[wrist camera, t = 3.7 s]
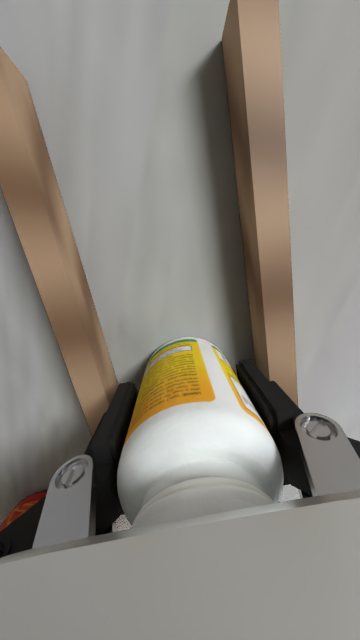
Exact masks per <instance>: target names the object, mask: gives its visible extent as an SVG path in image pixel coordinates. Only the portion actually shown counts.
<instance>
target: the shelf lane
mask: <svg viewBox="0 0 360 640" xmlns="http://www.w3.org/2000/svg"><path fill="white" fill-rule="evenodd" d="M222 46H223V56H224V66H225V75H226V85H227V95H228V104H229V114H230V124H231V133H232V143H233V153H234V162H235V172H236V182H237V191H238V201H239V211H240V220H241V230H242V240H243V249H244V259H245V269H246V278H247V288H248V297H249V307H250V317H251V326H252V336H253V346H254V355H255V365H256V367H257V368H258V369H259V370H260V371H261V372H262V374H263V375H264V376H265V377H266V378H267V379H268V381H275V382H276V383H277V384H278V385H279V386H280V388H281V389H282V390H283V391H284V392H285V393H286V394H287V395H288V396H289V397H290V399H291V400H292V401H293V402H294V403H295V404H296V405H297V406H298V394H297V373H296V351H295V330H294V309H293V288H292V267H291V245H290V224H289V203H288V182H287V160H286V139H285V118H284V97H283V76H282V54H281V33H280V12H279V0H230V2H229V7H228V12H227V16H226V21H225V26H224V30H223V35H222ZM0 187H1V189H2V192H3V195H4V197H5V200H6V203H7V206H8V208H9V211H10V214H11V217H12V219H13V222H14V225H15V227H16V230H17V233H18V236H19V238H20V241H21V244H22V247H23V249H24V252H25V255H26V257H27V260H28V263H29V266H30V268H31V271H32V274H33V277H34V279H35V282H36V285H37V287H38V290H39V293H40V296H41V298H42V301H43V304H44V307H45V309H46V312H47V315H48V317H49V320H50V323H51V326H52V328H53V331H54V334H55V337H56V339H57V342H58V345H59V347H60V350H61V353H62V356H63V358H64V361H65V364H66V367H67V369H68V372H69V375H70V378H71V380H72V383H73V386H74V388H75V391H76V394H77V397H78V399H79V402H80V405H81V408H82V410H83V413H84V416H85V418H86V421H87V424H88V427H89V429H90V432H91V435H92V437H93V435H94V433H95V431H96V428H97V426H98V424H99V422H100V420H101V418H102V416H103V414H104V413H105V412H107V409H108V407H109V405H110V403H111V401H112V399H113V396H114V394H115V392H116V390H117V388H118V382H117V379H116V376H115V372H114V369H113V366H112V362H111V359H110V356H109V352H108V349H107V346H106V342H105V339H104V336H103V333H102V329H101V326H100V323H99V319H98V316H97V313H96V309H95V306H94V303H93V299H92V296H91V293H90V290H89V286H88V283H87V280H86V276H85V273H84V270H83V266H82V263H81V260H80V256H79V253H78V250H77V247H76V243H75V240H74V237H73V233H72V230H71V227H70V223H69V220H68V217H67V213H66V210H65V207H64V204H63V200H62V197H61V194H60V190H59V187H58V184H57V180H56V177H55V174H54V170H53V167H52V164H51V160H50V157H49V154H48V151H47V147H46V144H45V141H44V137H43V134H42V131H41V127H40V124H39V121H38V117H37V114H36V111H35V108H34V104H33V101H32V98H31V94H30V91H29V88H28V84H27V81H26V79H25V78H24V76H23V75H22V74H21V73H20V71H19V70H18V69H17V67H16V66H15V65H14V64H13V62H12V61H11V60H10V58H9V57H8V56H7V55H6V53H5V52H4V51H3V49H2V48H1V47H0Z"/></svg>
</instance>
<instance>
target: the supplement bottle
mask: <svg viewBox="0 0 360 640" xmlns="http://www.w3.org/2000/svg"><path fill="white" fill-rule="evenodd" d="M283 482H284V475H283V466H282V461H281V457H280V454H279V451H278V449H277V446H276V444H275V442H274V440H273V438H272V437H271V435H270V433H269V431H268V429H267V428H266V426H265V424H264V422H263V421H262V419H261V417H260V416H259V414H258V412H257V410H256V409H255V407H254V405H253V403H252V402H251V400H250V398H249V397H248V395H247V393H246V392H245V390H244V388H243V386H242V385H241V383H240V381H239V379H238V378H237V376H236V374H235V372H234V371H233V369H232V367H231V366H230V364H229V362H228V361H227V359H226V358H225V356H224V355H223V353H222V352H221V351H220V350H219V349H218V348H217V347H216V346H215V345H213V344H212V343H210V342H208V341H206V340H203V339H200V338H194V337H184V338H179V339H175V340H172V341H170V342H168V343H165V344H164V345H162V346H161V347H160V348H158V349H157V350H156V351H155V352H154V353H153V355H152V356H151V358H150V359H149V361H148V363H147V366H146V369H145V372H144V376H143V379H142V382H141V386H140V390H139V393H138V397H137V400H136V404H135V408H134V411H133V415H132V418H131V422H130V425H129V429H128V432H127V436H126V439H125V442H124V446H123V449H122V453H121V457H120V461H119V465H118V471H117V489H118V496H119V500H120V503H121V506H122V509H123V511H124V514H125V516H126V517H127V519H128V521H129V522H130V524H131V525H132V526H131V528H130V529H134V528H139V527H145V526H150V525H156V524H161V523H167V522H172V521H178V520H183V519H189V518H194V517H200V516H205V515H211V514H216V513H222V512H228V511H233V510H239V509H244V508H250V507H256V506H262V505H268V504H273V503H279V502H280V500H281V496H282V491H283Z"/></svg>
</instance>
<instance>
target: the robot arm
mask: <svg viewBox="0 0 360 640" xmlns="http://www.w3.org/2000/svg"><path fill="white" fill-rule="evenodd" d="M236 369H237V376H238V379H239V381H240V383H241V385H242V386H243V388H244V390H245V392H246V393H247V395H248V397H249V398H250V400H251V402H252V403H253V405H254V407H255V409H256V410H257V412H258V414H259V416H260V417H261V419H262V421H263V422H264V424H265V426H266V428H267V429H268V431H269V433H270V435H271V437H272V438H273V440H274V442H275V444H276V446H277V449H278V451H279V454H280V457H281V461H282V466H283V475H284V482H283V485H288V484H291V485H292V486H294V487H296V488H298V489H299V494H300V498H301V499H296V500H291V501H285V502H279V503H273V504H268V505H262V506H256V507H250V508H244V509H239V510H233V511H228V512H222V513H216V514H211V515H205V516H200V517H194V518H189V519H183V520H178V521H172V522H167V523H161V524H156V525H150V526H145V527H139V528H134V529H129V530H123V531H118V532H116V522H115V521H116V520H117V518H118V517H119V516H120V515H122V514H124V511H123V509H122V506H121V503H120V500H119V496H118V489H117V471H118V465H119V461H120V457H121V453H122V449H123V446H124V442H125V439H126V436H127V432H128V429H129V425H130V422H131V418H132V415H133V411H134V408H135V404H136V400H137V397H138V394H137V390H136V387H135V384H131V382H127V383H122V384H119V386H118V388H117V390H116V392H115V394H114V396H113V399H112V401H111V403H110V405H109V407H108V409H107V412H105V413H104V414H103V416H102V418H101V420H100V422H99V424H98V426H97V428H96V431H95V433H94V435H93V437H92V439H91V441H90V443H89V445H88V447H87V449H86V452H85V454H84V455H78V456H75V457H73V458H71V459H69V460H68V461H66V462H65V463H64V464H62V465H61V466H60V468H59V469H58V470H57V471H56V472H55V474H54V475H53V476H52V479H51V481H50V484H49V488H48V491H47V495H45V496H44V497H43V498H42V499H40V500H39V501H38V502H37V503H35V504H34V505H33V506H32V507H30V508H29V509H28V510H27V511H25V512H24V513H23V514H22V515H20V516H19V517H18V518H17V519H15V520H14V521H13V522H12V523H10V524H9V525H8V526H7V527H5V528H4V529H3V530H2V531H0V640H360V442H359V441H357V440H354V439H351V438H348V437H347V436H346V434H345V433H344V431H343V429H342V428H341V427H340V425H339V424H338V423H337V422H335V421H334V420H333V419H331V418H329V417H327V416H324V415H321V414H317V413H303V412H302V411H301V410H300V409H299V407H298V406H297V405H296V404H295V403H294V402H293V401H292V400H291V399H290V397H289V396H288V395H287V394H286V393H285V392H284V391H283V390H282V389H281V388H280V386H279V385H278V384H277V383H276V382H275V381H268V379H267V378H266V377H265V376H264V375H263V374H262V372H261V371H260V370H259V369H258V368H257V367H256V365H255V364H254V363H253V362H252V361H251V360H250V359H248V360H243V361H240V362H239V364H237V365H236Z"/></svg>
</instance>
